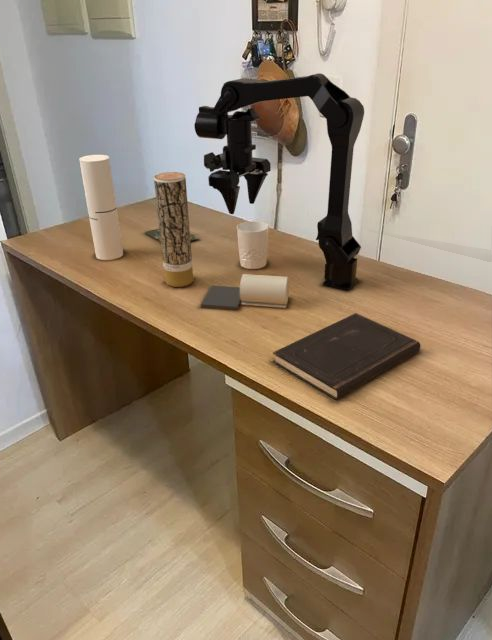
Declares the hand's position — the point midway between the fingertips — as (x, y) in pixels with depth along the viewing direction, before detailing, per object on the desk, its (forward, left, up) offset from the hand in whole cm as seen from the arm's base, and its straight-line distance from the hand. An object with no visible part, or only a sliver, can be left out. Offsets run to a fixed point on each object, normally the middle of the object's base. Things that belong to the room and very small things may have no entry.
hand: (241, 208), depth 135 cm
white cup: (-2, -1, -15) cm, 15 cm away
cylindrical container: (+35, +12, -15) cm, 39 cm away
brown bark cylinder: (+8, +17, -15) cm, 24 cm away
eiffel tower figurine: (+29, -7, -15) cm, 33 cm away
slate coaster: (-7, +20, -14) cm, 25 cm away
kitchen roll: (-16, +16, -11) cm, 25 cm away
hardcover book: (-40, +29, -15) cm, 52 cm away
